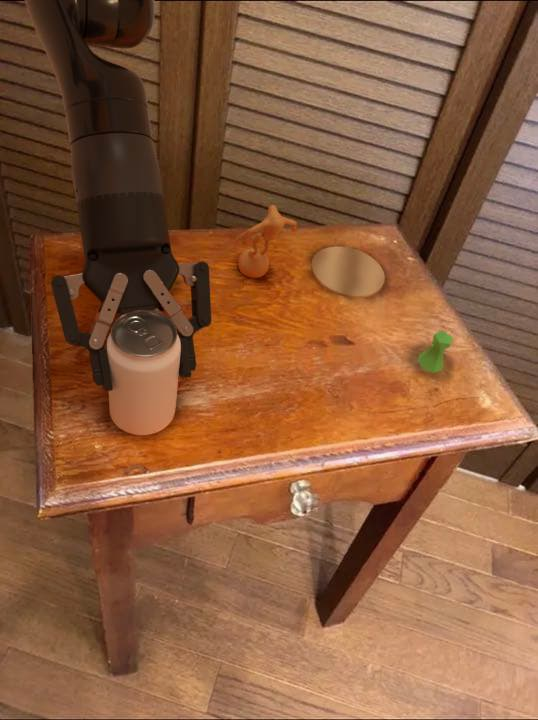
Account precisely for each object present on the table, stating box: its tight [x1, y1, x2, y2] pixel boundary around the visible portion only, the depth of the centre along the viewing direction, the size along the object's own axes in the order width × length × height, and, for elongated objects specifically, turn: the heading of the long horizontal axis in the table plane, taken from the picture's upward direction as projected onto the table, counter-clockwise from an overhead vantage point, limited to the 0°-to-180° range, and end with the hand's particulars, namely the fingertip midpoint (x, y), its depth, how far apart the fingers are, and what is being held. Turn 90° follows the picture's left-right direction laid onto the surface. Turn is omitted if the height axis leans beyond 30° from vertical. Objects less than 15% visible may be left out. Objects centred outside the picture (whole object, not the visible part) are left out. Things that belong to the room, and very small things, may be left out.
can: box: [106, 309, 181, 436], centre depth 55 cm, size 6×6×12 cm
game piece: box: [417, 330, 453, 374], centre depth 68 cm, size 4×4×6 cm
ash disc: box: [310, 245, 386, 299], centre depth 79 cm, size 10×10×2 cm
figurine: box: [232, 204, 298, 279], centre depth 72 cm, size 8×6×12 cm
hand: (147, 382), depth 53 cm, fingers closed on can, 6 cm apart
